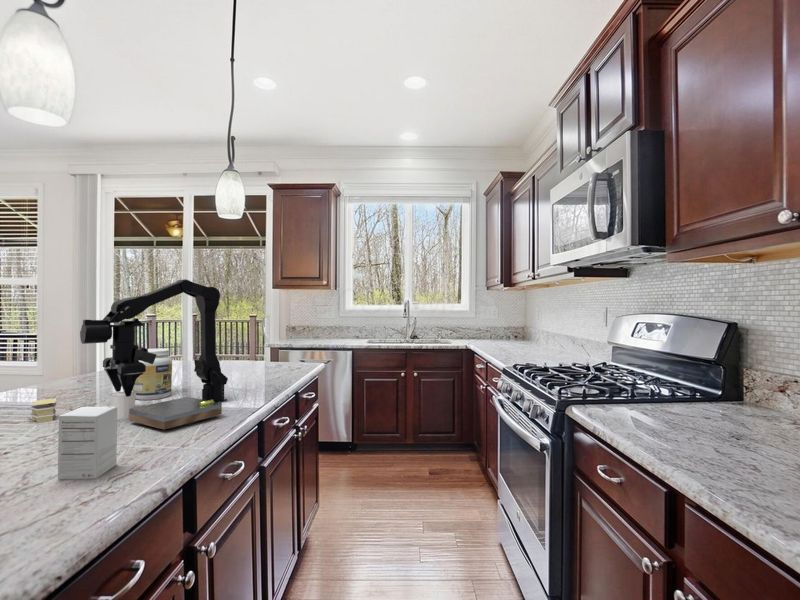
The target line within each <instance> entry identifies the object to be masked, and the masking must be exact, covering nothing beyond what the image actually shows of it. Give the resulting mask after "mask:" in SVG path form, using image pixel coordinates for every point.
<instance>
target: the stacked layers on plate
mask: <svg viewBox="0 0 800 600" xmlns="http://www.w3.org/2000/svg"><path fill="white" fill-rule="evenodd" d="M56 401H57V398H45V399H44V398H43V399H40V400H35V401H34V400H33V401H30V403H31V404H33V405H31V406H30V407H29V408H30V409H31V413H30V416H31V421H33V422H36V423H37V424H39V423H46V422H52V421H53V420H54V416H55V415H56V414H57V410H56V407H57V402H56Z"/></svg>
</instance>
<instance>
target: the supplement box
mask: <svg viewBox="0 0 800 600" xmlns="http://www.w3.org/2000/svg"><path fill="white" fill-rule="evenodd" d="M117 439H118V420H117V407H110V406H81V407H78V408H76V409H73V410H71V411H68V412H66V413H63V414H61V415H58V441H57V442H58V443H57V444H58V445H57V448H58V449H57V450H58V451H57V455H58V457H57V460H58V461H57V479H58V480H95V479H98V478H99V477H100V476H102V475H104V474H105V473H106V472H108V471H110V470H111V469H112V468H114V467H115V466H117V464H118V463H117V459H118V458H117V457H118V455H117V453H118V449H117V447H118V440H117Z"/></svg>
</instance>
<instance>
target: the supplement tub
mask: <svg viewBox="0 0 800 600" xmlns="http://www.w3.org/2000/svg"><path fill="white" fill-rule="evenodd" d="M147 349H148V352H149V353H153V354H157V355H156V358H155V360H154V363H153V364H150V363H147V362H144V361H140V360H139V362H142V363H143V364H145V365H146V372H143V374H142V375H140V376H139V377H138V378H137V379H136V381H135V384H134V387H133V390H132V392H136V398H135V400H139V401H141V400H142V401H143V400H144V401H151V400H152V401H153V400H160V399H163V398H168V397H169V396H170V395H171V394H172V386H173V385H172V381H173V380H172V376H173V359H172V357H171V356H169V355H170V348H159V347H158V348H147Z"/></svg>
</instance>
